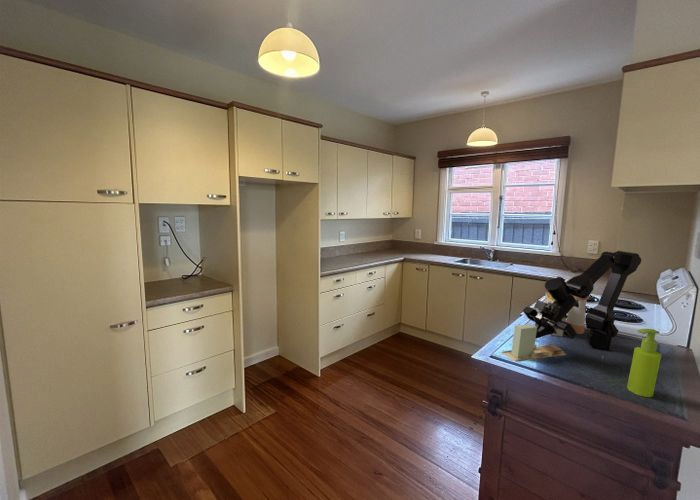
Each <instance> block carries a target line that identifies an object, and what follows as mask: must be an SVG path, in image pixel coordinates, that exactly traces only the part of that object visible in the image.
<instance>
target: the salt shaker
mask: <svg viewBox="0 0 700 500" xmlns="http://www.w3.org/2000/svg"><path fill="white" fill-rule="evenodd" d="M574 298H575V299H576V300H578V303H579V307H578V308H577V307H573V308H572V309H571V310H570V311H569V312H568V313H567V314H566V315H567V316H568V317H567V318H566V319H565V322H567V323H569V324H571V326H572V327H573V328H574V330H575V331H576V334H578V335H581V334H582V335H583V334H585V328H586V321H585V318H586V307H587V306H586V305H587V301H588V300H589V299H590V295H589V296H588V297H587V298H585V299H584V298H579V297H575V296H574Z"/></svg>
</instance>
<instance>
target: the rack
mask: <svg viewBox="0 0 700 500" xmlns="http://www.w3.org/2000/svg"><path fill="white" fill-rule="evenodd" d="M511 352H512V349H511V350H505V351H504V350H503V351H500V353H501V354H503V355H505V356H506V357H507V358H509V359H510V360H512V361H514V362H515V363H516V362H517V363H518V362H524V361H531V360H537V359H538V360H539V359H546V358H553V357H559V356H566V355H567V353H565V351H564V350H563V349H562V348H560V347H558V346H555V345H553V344H546V345H540V346H538V345H537V344H535V346H534V354H532V356H527V357H520V358H517V357H516V356H514V355H512V354H511Z"/></svg>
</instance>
